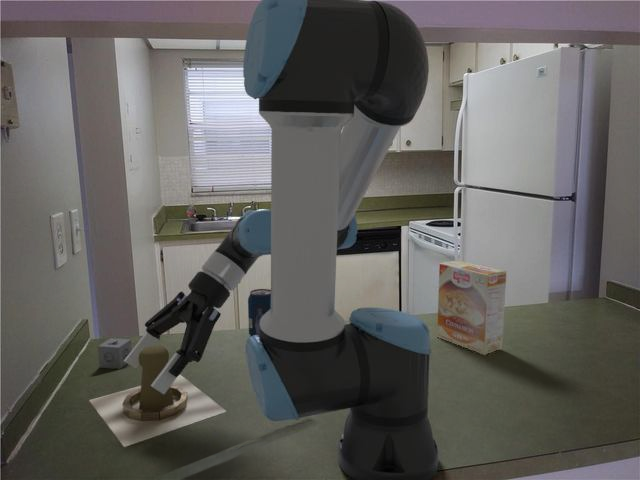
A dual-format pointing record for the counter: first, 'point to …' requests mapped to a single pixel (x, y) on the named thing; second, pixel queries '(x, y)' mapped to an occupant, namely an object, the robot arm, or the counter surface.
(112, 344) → the dice cube
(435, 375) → the counter surface
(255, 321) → the soda can
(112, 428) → the board
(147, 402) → the cork
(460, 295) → the coffeecake box
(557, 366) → the counter surface
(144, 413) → the collar
